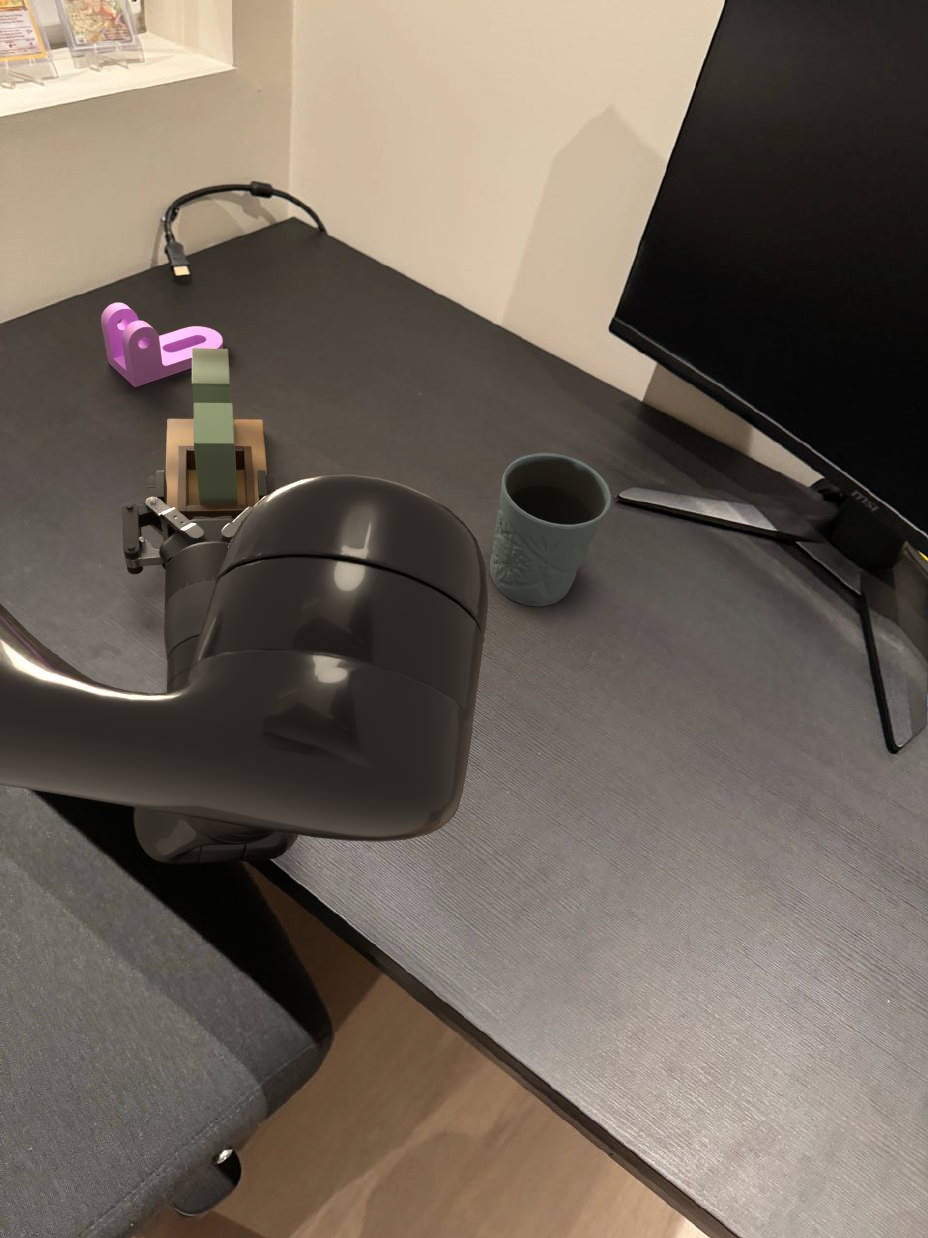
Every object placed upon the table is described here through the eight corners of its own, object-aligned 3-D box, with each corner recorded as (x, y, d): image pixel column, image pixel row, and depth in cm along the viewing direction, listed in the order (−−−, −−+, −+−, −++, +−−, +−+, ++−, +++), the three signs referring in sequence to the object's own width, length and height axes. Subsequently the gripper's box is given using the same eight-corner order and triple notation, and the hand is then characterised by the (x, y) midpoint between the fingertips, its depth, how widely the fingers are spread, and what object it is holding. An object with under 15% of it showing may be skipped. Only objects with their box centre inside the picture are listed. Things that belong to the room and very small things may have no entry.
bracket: (134, 387, 95) (126, 332, 90) (108, 362, 97) (98, 307, 92) (232, 354, 102) (229, 301, 97) (205, 331, 104) (201, 278, 99)
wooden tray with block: (272, 544, 83) (271, 460, 75) (165, 547, 81) (152, 461, 73) (262, 430, 94) (260, 346, 86) (168, 429, 92) (157, 343, 84)
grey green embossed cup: (586, 560, 89) (620, 472, 80) (565, 627, 82) (599, 539, 73) (495, 530, 90) (519, 439, 81) (467, 594, 83) (489, 502, 74)
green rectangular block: (238, 516, 83) (234, 443, 76) (200, 517, 82) (193, 442, 75) (236, 476, 86) (232, 402, 80) (200, 476, 85) (193, 402, 79)
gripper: (310, 579, 64) (293, 443, 74) (109, 586, 61) (120, 443, 70) (308, 640, 70) (292, 507, 80) (124, 651, 66) (132, 509, 76)
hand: (212, 477), depth 75 cm, fingers open, 8 cm apart
